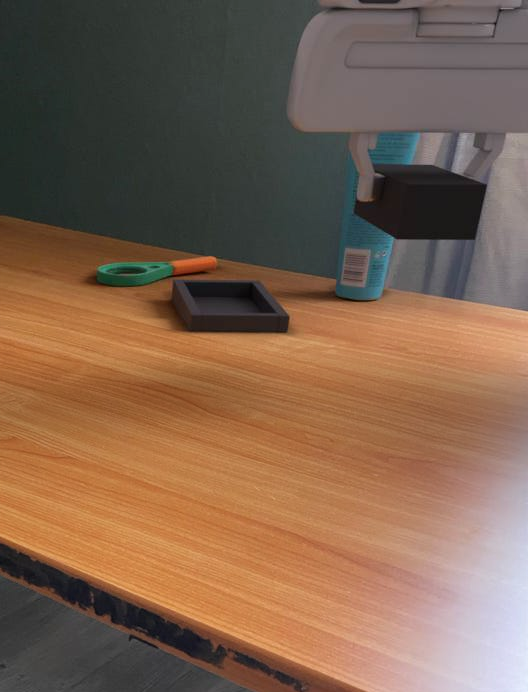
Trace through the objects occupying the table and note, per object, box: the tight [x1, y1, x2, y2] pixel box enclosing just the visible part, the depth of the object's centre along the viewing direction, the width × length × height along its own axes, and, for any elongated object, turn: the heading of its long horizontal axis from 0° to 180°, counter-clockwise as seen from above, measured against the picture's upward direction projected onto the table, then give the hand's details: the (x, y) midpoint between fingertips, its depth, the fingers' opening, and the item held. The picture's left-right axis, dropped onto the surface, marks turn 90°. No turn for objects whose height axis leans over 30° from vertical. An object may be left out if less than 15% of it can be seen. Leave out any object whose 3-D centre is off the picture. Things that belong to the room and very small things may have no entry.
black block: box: [354, 164, 488, 241], centre depth 74 cm, size 6×11×4 cm, turn 1°
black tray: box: [171, 279, 290, 334], centre depth 99 cm, size 9×15×2 cm, turn 1°
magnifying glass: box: [96, 255, 218, 287], centre depth 114 cm, size 15×6×2 cm, turn 116°
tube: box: [334, 132, 421, 301], centre depth 103 cm, size 7×5×19 cm, turn 85°
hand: (414, 200), depth 74 cm, fingers closed on black block, 5 cm apart
